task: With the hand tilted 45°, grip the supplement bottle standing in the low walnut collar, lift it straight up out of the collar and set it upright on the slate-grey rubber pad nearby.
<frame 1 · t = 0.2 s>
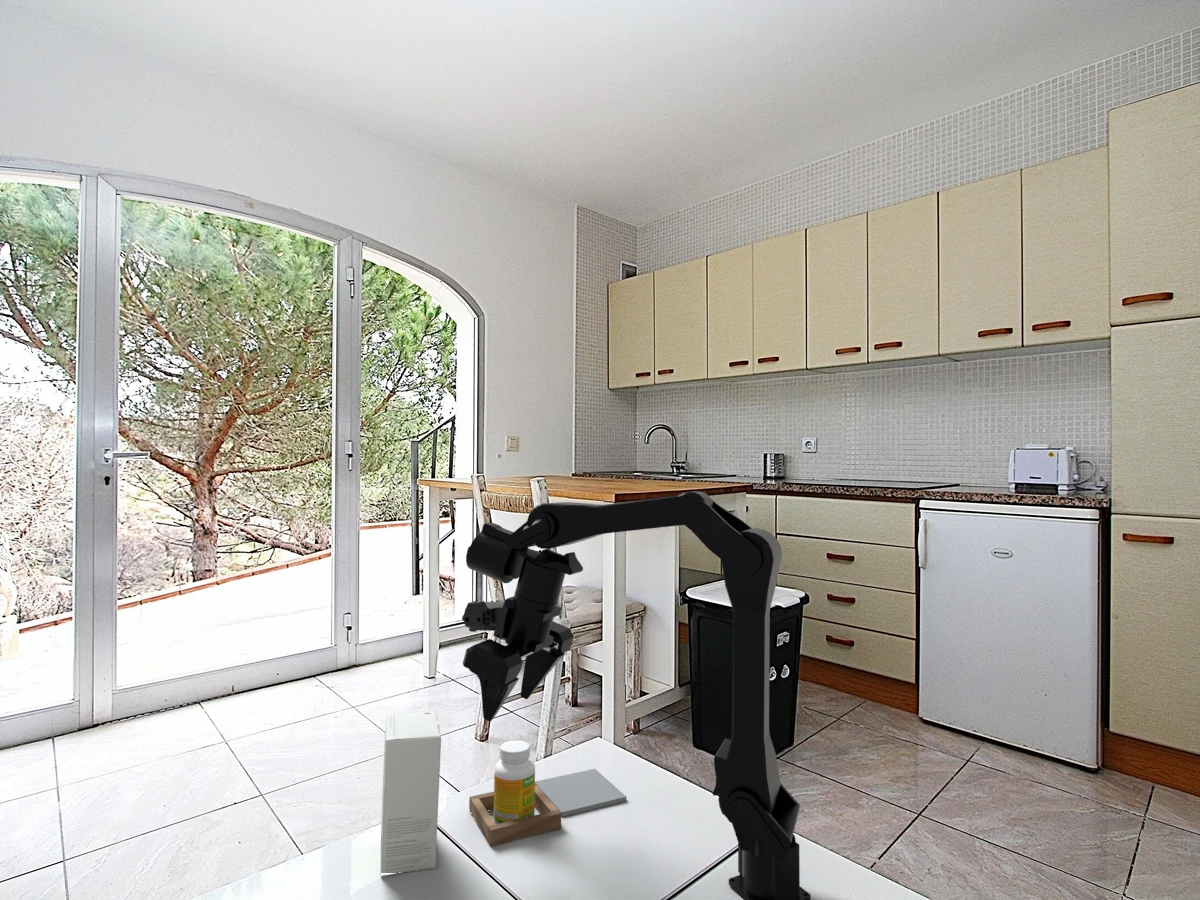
hand: (506, 708, 86), 15 cm above the table, tool tilted 15°, fingers open, 9 cm apart
slate pad: (579, 793, 95), on the table
supplement bottle: (514, 821, 87), resting in walnut collar
walnut collar: (514, 820, 87), on the table
skincare box: (409, 856, 79), on the table
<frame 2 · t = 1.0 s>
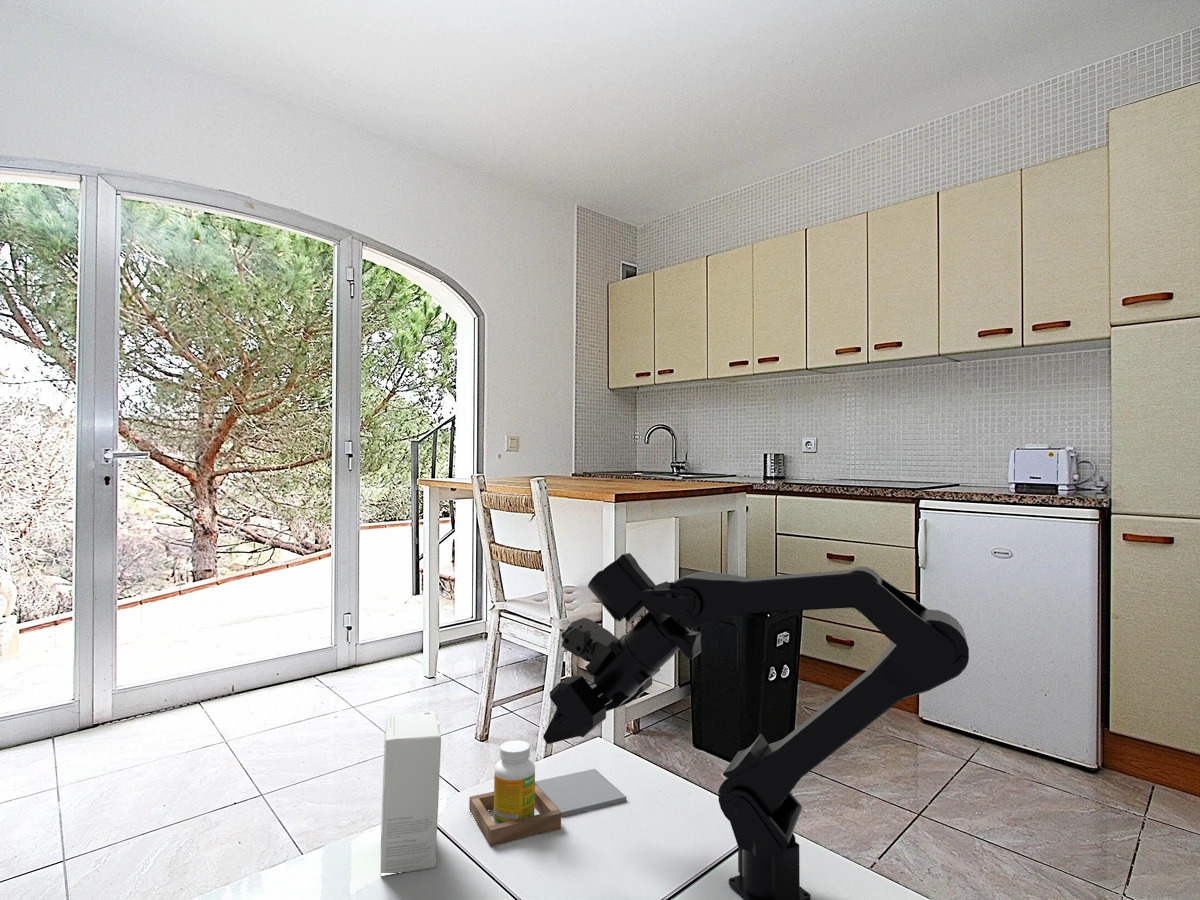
hand: (564, 727, 84), 13 cm above the table, tool tilted 45°, fingers open, 9 cm apart
nothing on the table moved.
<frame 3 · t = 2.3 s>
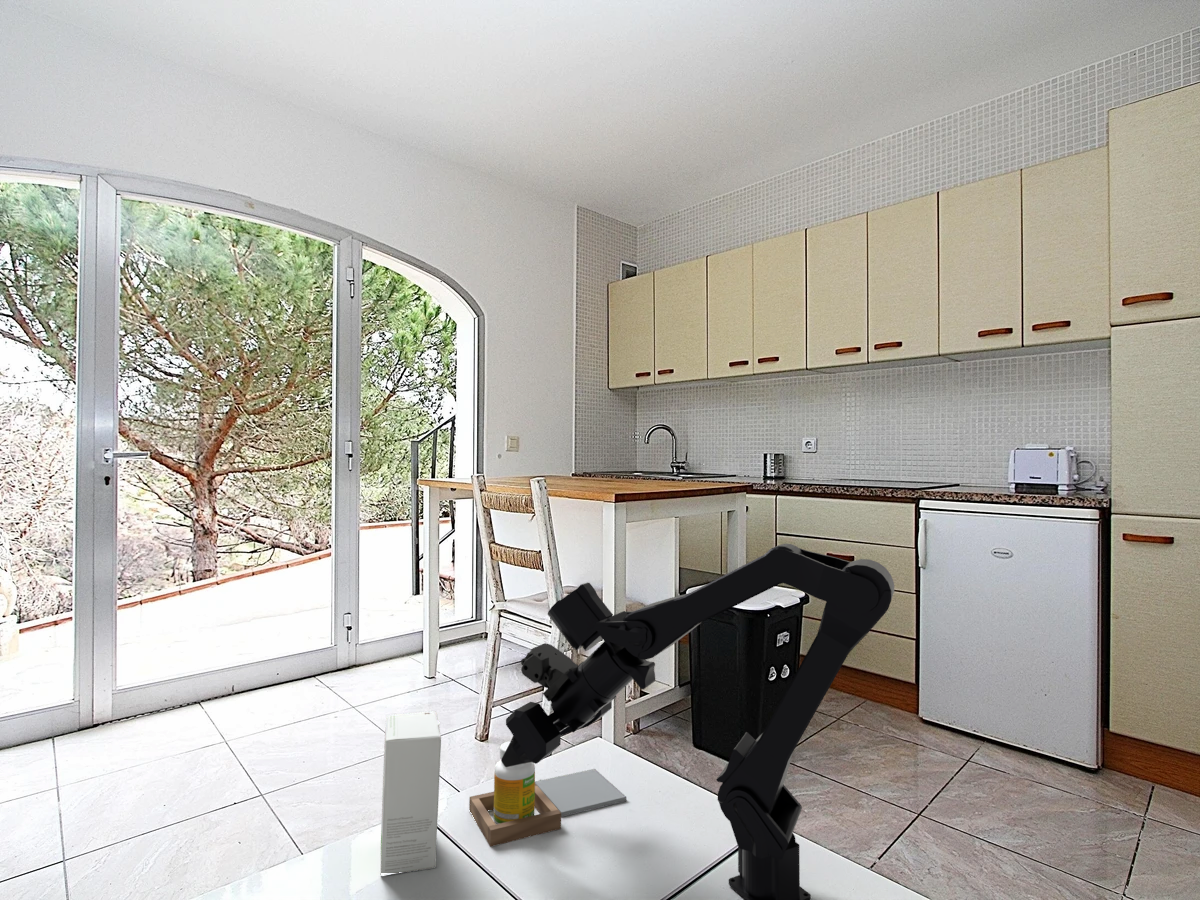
hand: (523, 750, 87), 9 cm above the table, tool tilted 45°, fingers open, 9 cm apart
nothing on the table moved.
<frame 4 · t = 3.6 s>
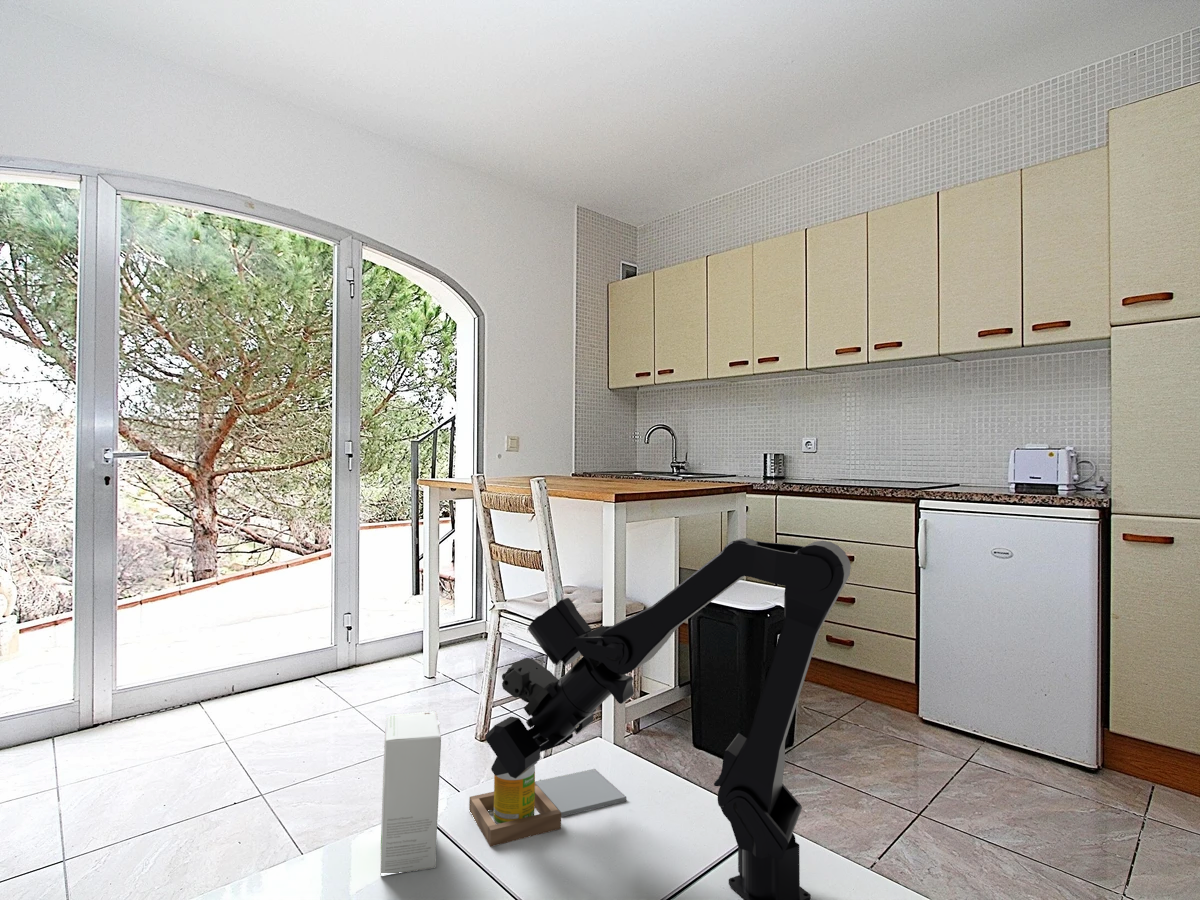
hand: (506, 763, 88), 7 cm above the table, tool tilted 45°, fingers closed on supplement bottle, 5 cm apart
supplement bottle: (514, 821, 87), resting in walnut collar, touching gripper
everything else where it was.
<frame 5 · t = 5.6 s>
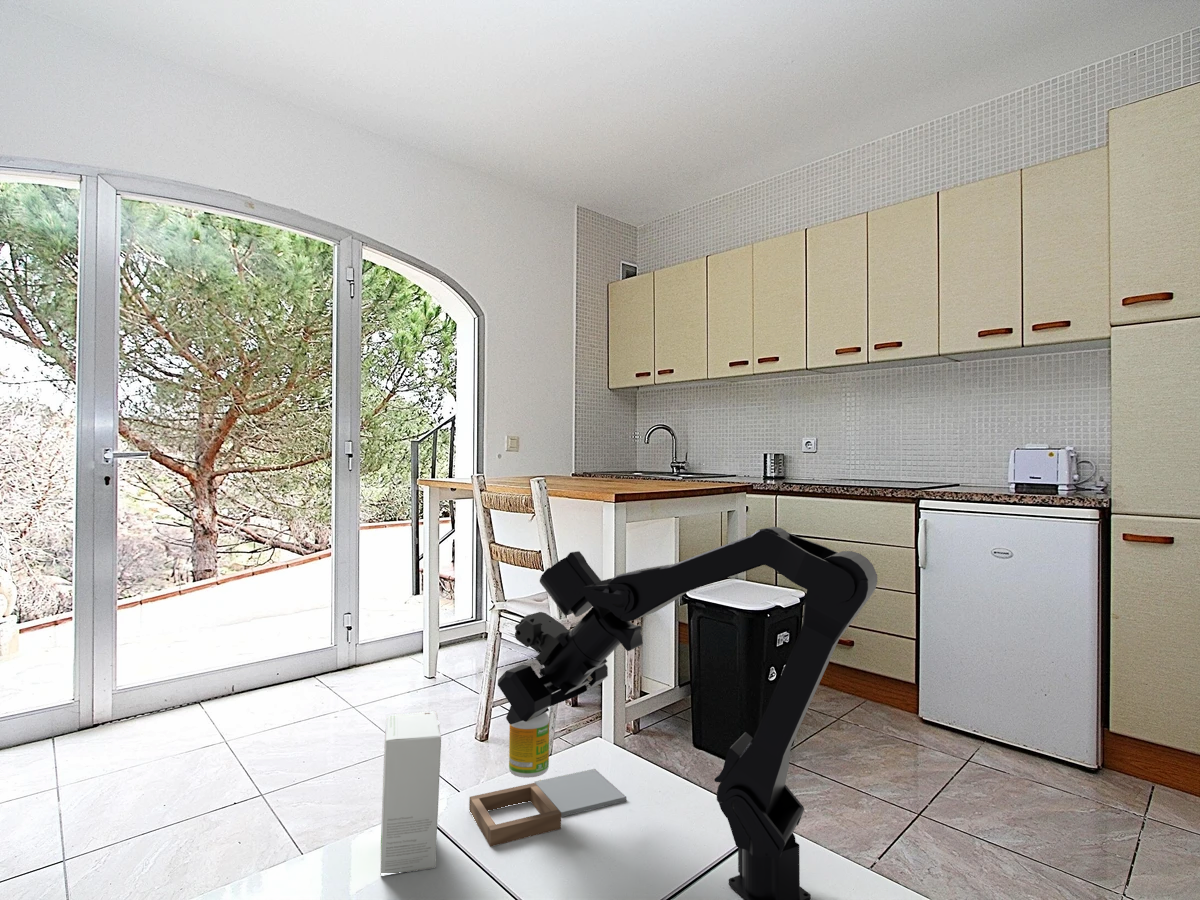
hand: (521, 714, 90), 13 cm above the table, tool tilted 45°, fingers closed on supplement bottle, 5 cm apart
supplement bottle: (528, 771, 89), point 6 cm above the table, touching gripper
everything else where it was.
when the fingers open (9 cm above the table, at t = 7.4 s): supplement bottle moves 1 cm, resting on slate pad.
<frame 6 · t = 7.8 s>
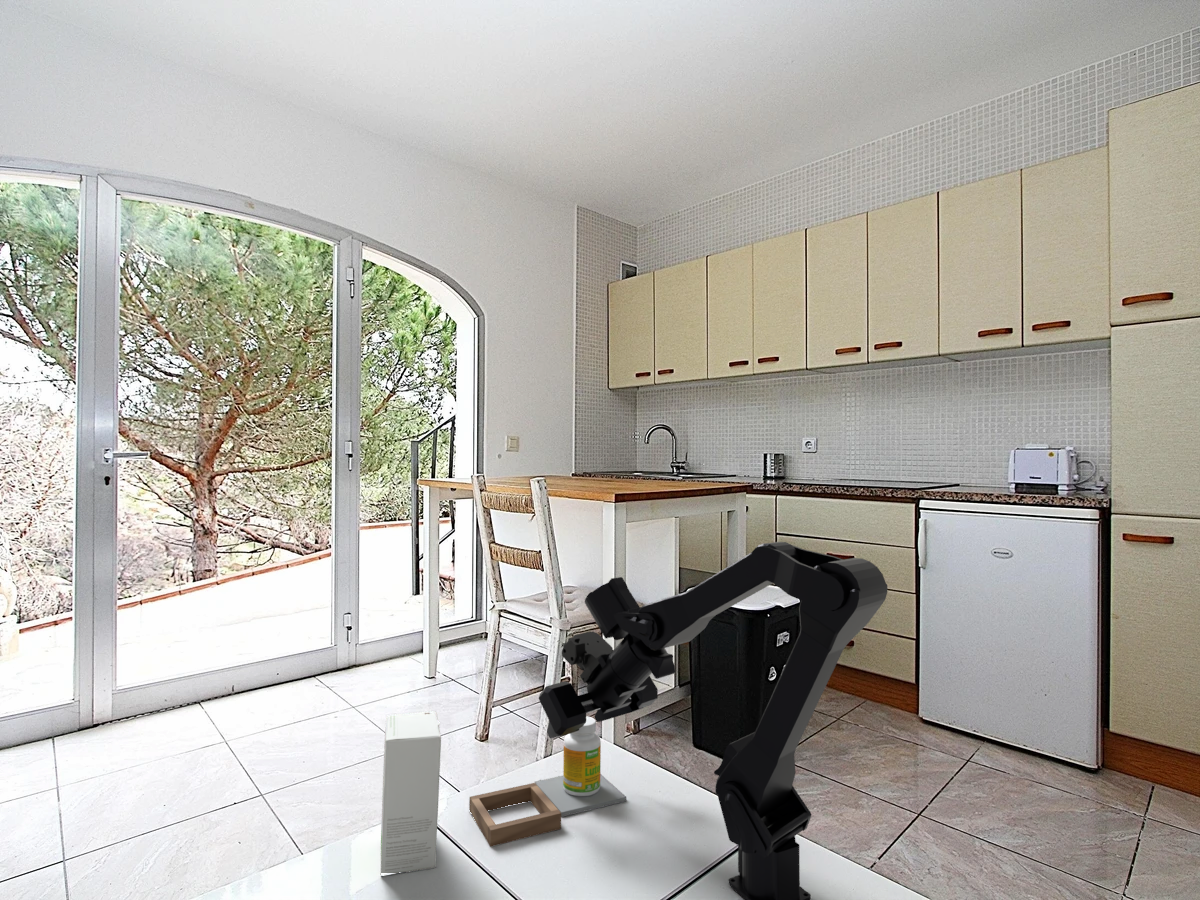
hand: (573, 726, 96), 9 cm above the table, tool tilted 45°, fingers open, 9 cm apart
supplement bottle: (581, 790, 95), resting on slate pad
everything else where it was.
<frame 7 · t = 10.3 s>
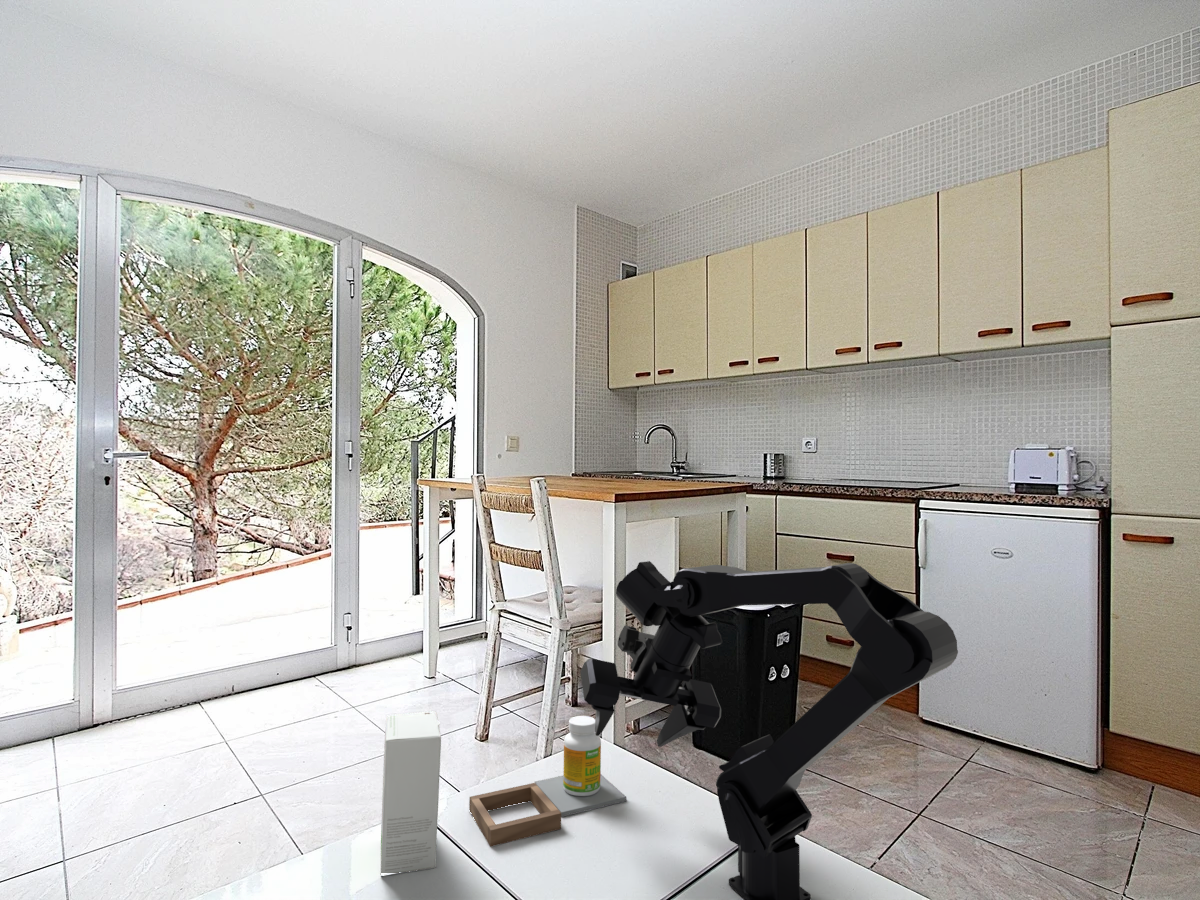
hand: (627, 738, 89), 10 cm above the table, tool tilted 30°, fingers open, 9 cm apart
nothing on the table moved.
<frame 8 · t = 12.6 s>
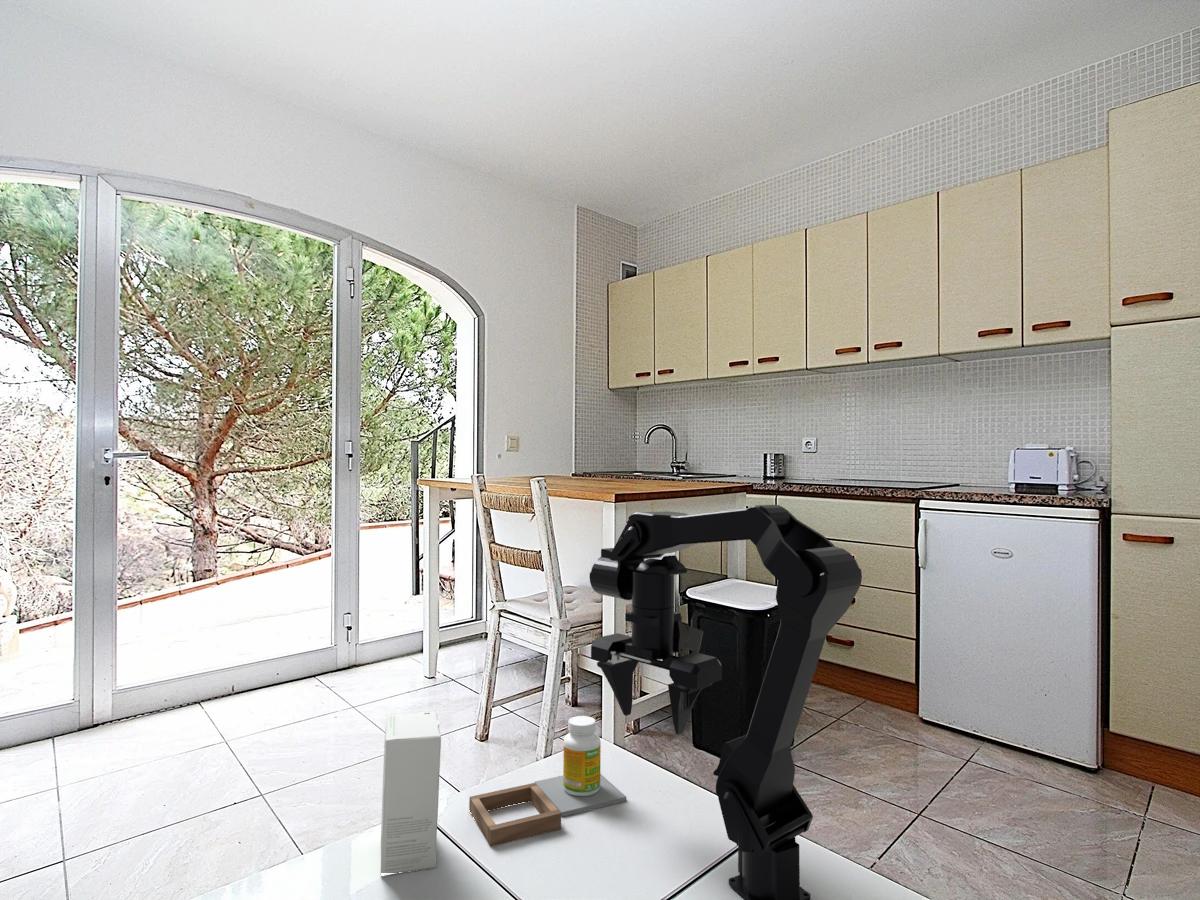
hand: (652, 724, 87), 13 cm above the table, tool pointing down, fingers open, 9 cm apart
nothing on the table moved.
at the end: supplement bottle inside the target area on the slate pad (0.3 cm from its centre), point 0.4 cm above the slate pad's base; supplement bottle tilted 0°; the gripper is holding nothing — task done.
